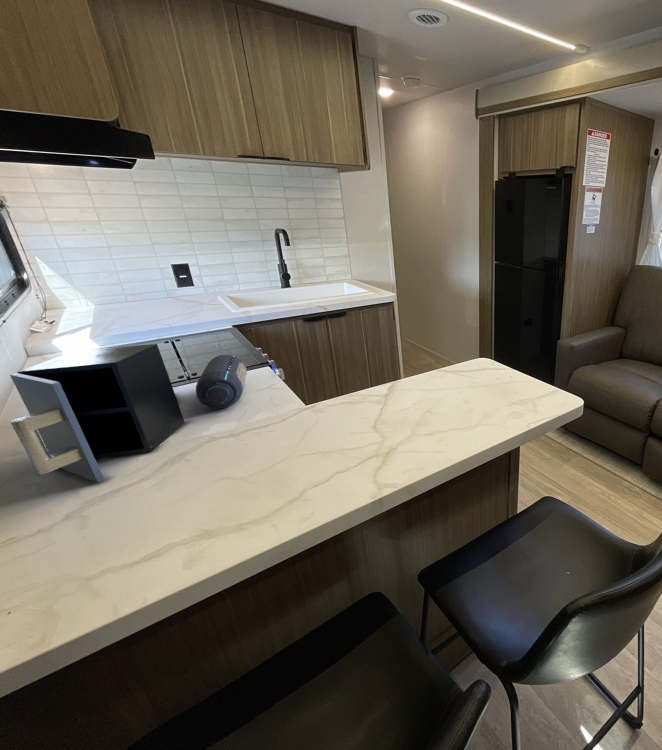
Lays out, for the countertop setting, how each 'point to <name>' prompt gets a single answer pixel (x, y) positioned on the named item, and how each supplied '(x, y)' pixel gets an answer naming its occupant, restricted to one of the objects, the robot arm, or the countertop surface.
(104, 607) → the countertop surface
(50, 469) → the freezer door
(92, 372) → the box
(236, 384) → the portable speaker
